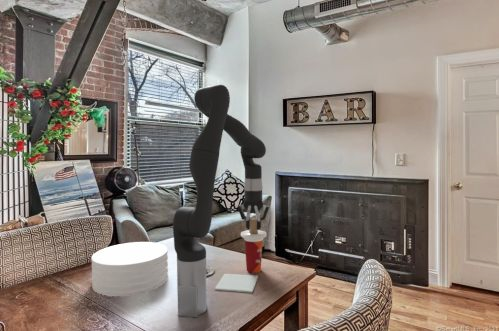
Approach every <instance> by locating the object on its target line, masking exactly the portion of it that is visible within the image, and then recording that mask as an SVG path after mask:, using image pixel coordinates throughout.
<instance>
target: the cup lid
mask: <svg viewBox="0 0 499 331" xmlns="http://www.w3.org/2000/svg"><path fill="white" fill-rule="evenodd" d="M257 221H258V219H257V217H256V218H255V217H253V218H251V217H250V219H249V230H248V229H247V230H244V231H243V230H242V231H241V232H240V237H241V238H243V239H244V238H245V239H262V238H263V239H265V238H266V237H267V236H268V235H267V232H266V231H265V230H260V229H259V230H257Z"/></svg>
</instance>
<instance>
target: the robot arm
mask: <svg viewBox="0 0 499 331" xmlns="http://www.w3.org/2000/svg"><path fill="white" fill-rule="evenodd" d="M230 96H231V95H230V91H229V89H228V87H227V86H226V85H223V84H213V85H209V86H204V87H201V88H198V89H197V90H196V91H195V93H194V100H193V101H194V103H195V106H196V108H197V110H198V111H199V112H200V113H201V114H203V115H204V116H205V117H206V118H208V119H207V122H206V124H205V125H204V128H203V129H202V130H201V132H200V133H199V134H198V136H197V137H196V138H195V140H194V142H193V145H192V147H191V151H190V152H191V153H190V157H189V163H188V164H189V166H188V167H189V172H190V175H191V176H192V180H193V182H194V186H195V188H196V203H195V207H194V206H193V207H192V206H191V207H190V206H180V207H179V208H178V209H176V211H175V213H174V215H173V220H172V232H173V243H174V244H173V246H174V247H173V248H174V251H175V253H176V276H177V278H176V279H177V280H176V281H177V282H176V283H177V286H176V288H177V289H176V290H177V291H176V292H177V316H180V317H191V318H193V317H194V318H197V317H198V316H200V315H202V314H204V313H205V312H206V311H207V308H208V303H207V302H208V299H207V297H208V295H207V287H208V286H207V276H206V275H207V273H206V266H207V249H206V247H205V246H204V245H203V244H202V243H200V242H199V241H198V240H197V239H203V238H205V237H206V236H207V235H208V234H209V232H210V228H211V225H212V218H213V204H214V191H215V183H216V177H217V176H216V175H217V170H218V165H219V161H220V160H219V159H220V151H221V146H222V145H221V143H222V138H223V133H224V132H225V133H226V134H227V135H228V136H229V137H230V138H231V139H232V140H233V141H234V142H235V144H236V145H237V146H238V147H240V155H241V156H240V157H241V159H242V162H243V167H244V185H243V187H244V188H243V189H244V192H243V193H244V196H243V197H244V202H243V204H238V206H237V210H238V212H239V215H240V218H241V220H243V221H245V228H246V229H247V230H249V219H251V214H255V216H256V219H258V221H257V230H260V229H261V228H262V221H264V220H266V218H267V214H268V212H269V210H270V206H269V205H266V204H264V202H263V181H262V180H263V179H262V174H263V173H262V165H260V164H259V163H255V161H254V160H253V159H261V158H263V157H264V156H265V155H266V153H267V147H266V146H265V144H264V142H263V141H262V140H261V139H259V138H258V137H257V136H256V135H254V134H252V133H251V132H250V130H249V129H248V128H247V127H246V125H245V124H244V123H243V122H241V121H240V120H239V119H237V118H236V117H233V116H232V115H230V114H228V112H229V108H230V104H231V103H230V102H231V97H230ZM244 209H245V211H246V214H245V212H244ZM262 209H263V211H264V212H263V215H262V216H261V210H262Z"/></svg>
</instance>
